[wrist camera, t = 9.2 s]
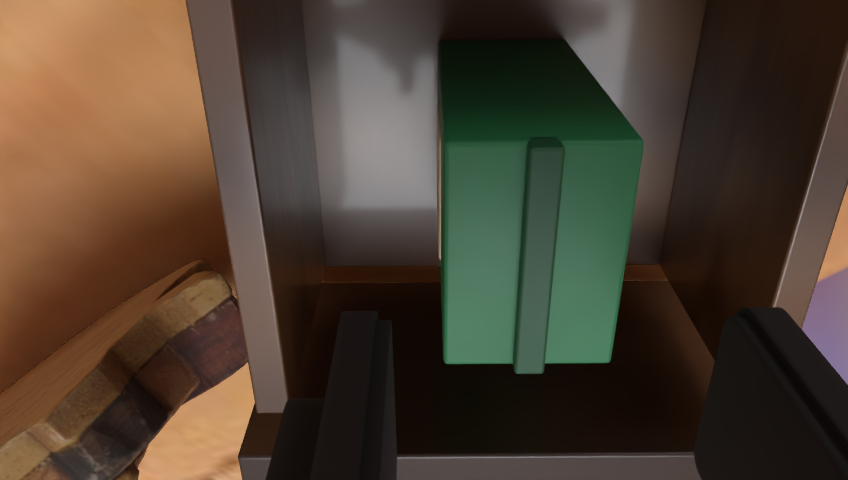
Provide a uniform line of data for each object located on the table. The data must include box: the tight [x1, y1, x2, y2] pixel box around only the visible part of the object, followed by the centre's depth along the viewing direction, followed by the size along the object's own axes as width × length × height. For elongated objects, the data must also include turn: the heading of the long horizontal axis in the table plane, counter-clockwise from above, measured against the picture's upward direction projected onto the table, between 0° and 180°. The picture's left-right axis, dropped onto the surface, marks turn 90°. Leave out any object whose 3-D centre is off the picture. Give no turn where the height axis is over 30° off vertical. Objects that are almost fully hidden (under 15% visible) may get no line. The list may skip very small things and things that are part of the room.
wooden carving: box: [0, 259, 248, 480], centre depth 21 cm, size 16×5×10 cm, turn 131°
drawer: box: [186, 0, 848, 480], centre depth 18 cm, size 19×13×8 cm
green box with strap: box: [437, 39, 644, 374], centre depth 16 cm, size 5×4×8 cm
